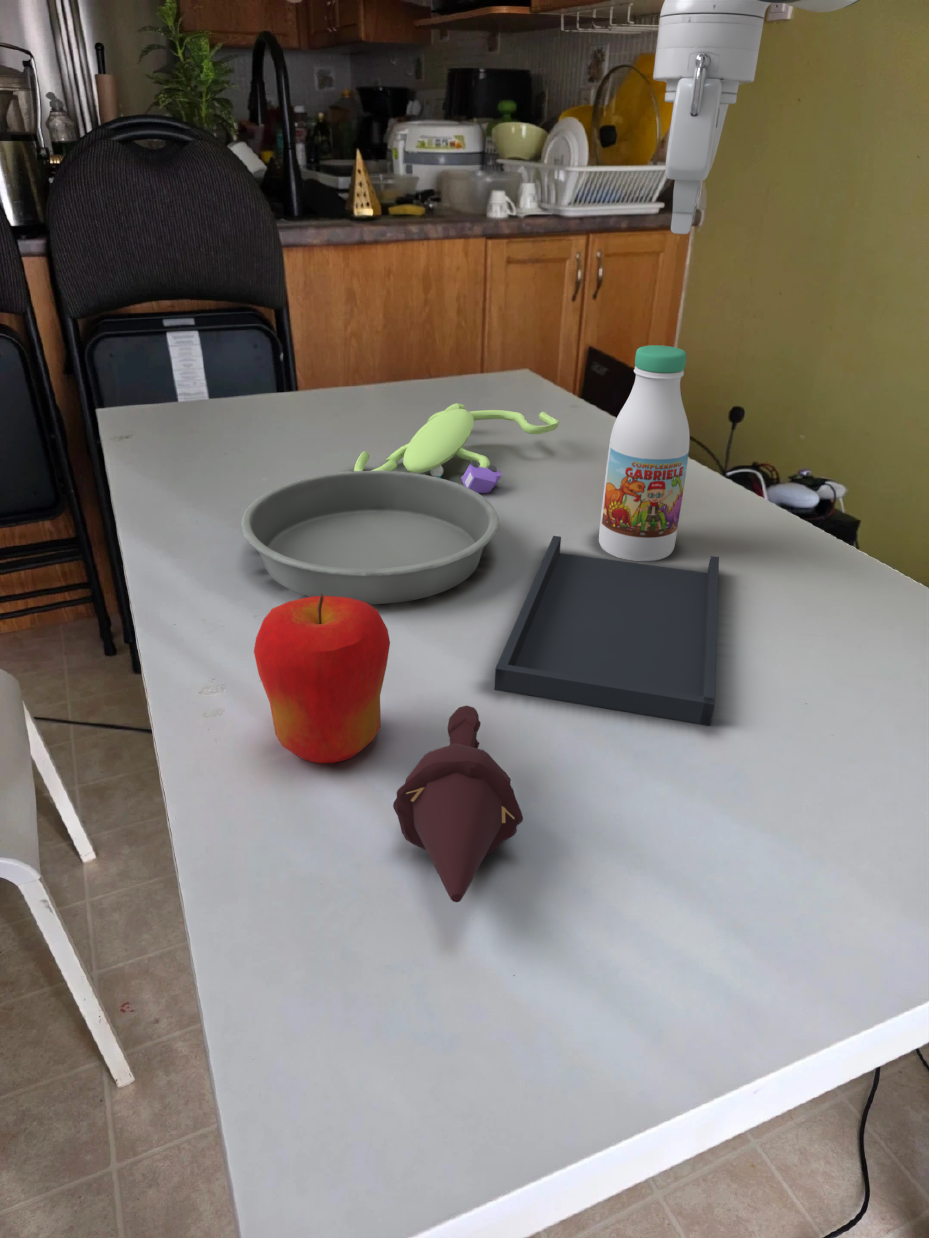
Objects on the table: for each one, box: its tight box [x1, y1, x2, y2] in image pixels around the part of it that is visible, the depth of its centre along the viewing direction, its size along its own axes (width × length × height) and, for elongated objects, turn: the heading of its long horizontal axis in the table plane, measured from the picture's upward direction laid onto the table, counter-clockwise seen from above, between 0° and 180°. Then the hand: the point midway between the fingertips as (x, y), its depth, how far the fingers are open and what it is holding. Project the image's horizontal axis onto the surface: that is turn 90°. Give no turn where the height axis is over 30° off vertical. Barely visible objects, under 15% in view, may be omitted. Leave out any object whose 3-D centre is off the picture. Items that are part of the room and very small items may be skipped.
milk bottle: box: [598, 344, 691, 562], centre depth 86 cm, size 8×8×20 cm
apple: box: [253, 593, 391, 765], centre depth 58 cm, size 9×8×12 cm
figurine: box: [353, 402, 560, 494], centre depth 110 cm, size 18×27×6 cm
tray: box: [494, 535, 720, 727], centre depth 76 cm, size 26×16×2 cm, turn 165°
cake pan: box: [240, 470, 500, 605], centre depth 86 cm, size 25×25×4 cm
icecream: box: [392, 705, 524, 903], centre depth 51 cm, size 7×7×15 cm
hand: (682, 229), depth 85 cm, fingers open, 6 cm apart
